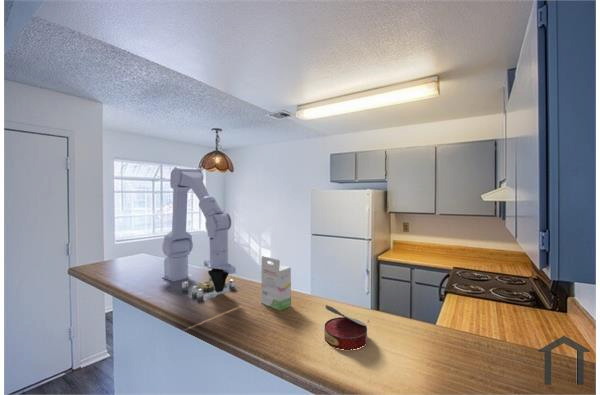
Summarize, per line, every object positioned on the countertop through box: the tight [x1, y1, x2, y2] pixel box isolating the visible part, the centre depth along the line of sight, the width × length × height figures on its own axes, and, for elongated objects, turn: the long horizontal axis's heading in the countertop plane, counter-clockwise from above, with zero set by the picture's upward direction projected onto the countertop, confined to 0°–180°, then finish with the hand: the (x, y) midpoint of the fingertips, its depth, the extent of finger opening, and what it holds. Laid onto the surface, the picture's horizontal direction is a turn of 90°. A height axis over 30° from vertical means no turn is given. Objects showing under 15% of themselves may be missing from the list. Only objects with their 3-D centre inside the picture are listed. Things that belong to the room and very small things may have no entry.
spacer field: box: [174, 274, 241, 303], centre depth 98 cm, size 15×16×4 cm
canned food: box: [324, 304, 368, 351], centre depth 67 cm, size 11×10×10 cm
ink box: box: [260, 255, 292, 312], centre depth 86 cm, size 9×5×15 cm, turn 47°
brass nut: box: [198, 280, 214, 291], centre depth 98 cm, size 5×5×2 cm
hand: (219, 291), depth 94 cm, fingers closed
